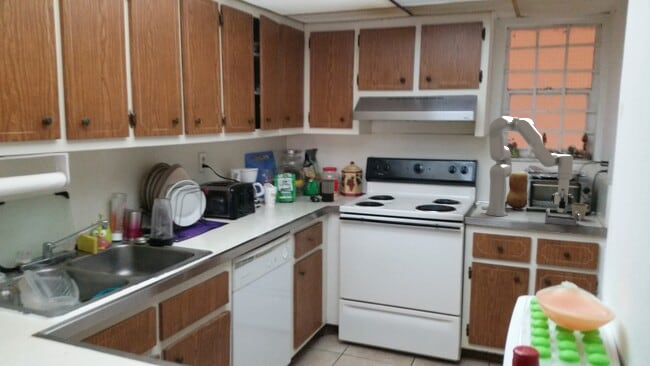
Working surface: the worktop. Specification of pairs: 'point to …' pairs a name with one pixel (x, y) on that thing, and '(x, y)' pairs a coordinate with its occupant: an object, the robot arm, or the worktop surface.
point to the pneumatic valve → (568, 201)
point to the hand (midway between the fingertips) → (562, 207)
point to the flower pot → (579, 209)
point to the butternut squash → (517, 190)
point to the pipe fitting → (562, 219)
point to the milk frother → (325, 191)
